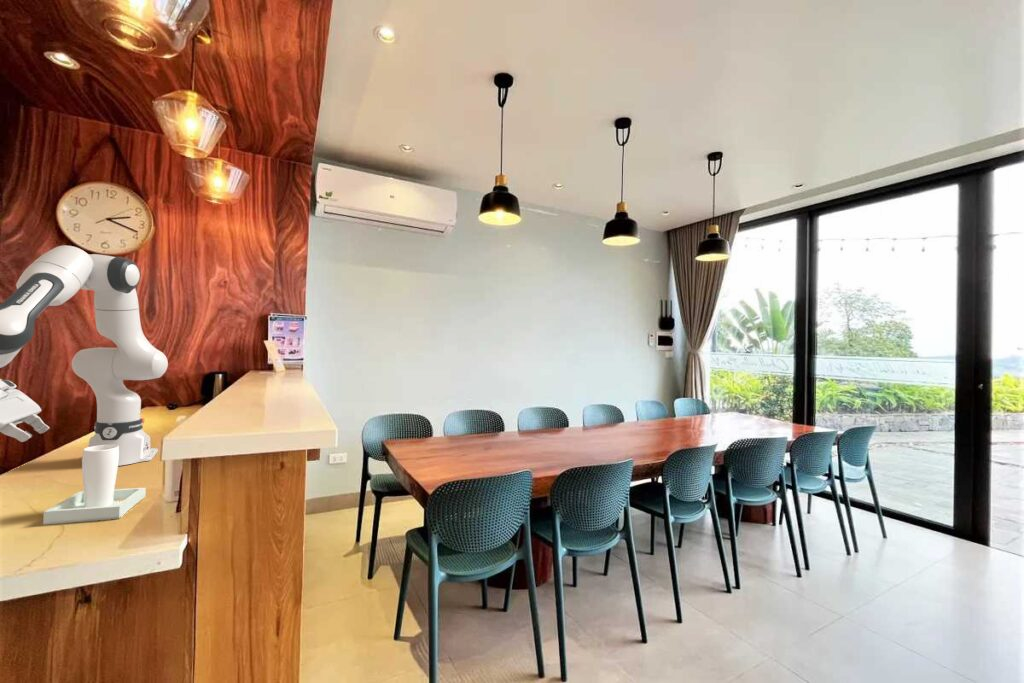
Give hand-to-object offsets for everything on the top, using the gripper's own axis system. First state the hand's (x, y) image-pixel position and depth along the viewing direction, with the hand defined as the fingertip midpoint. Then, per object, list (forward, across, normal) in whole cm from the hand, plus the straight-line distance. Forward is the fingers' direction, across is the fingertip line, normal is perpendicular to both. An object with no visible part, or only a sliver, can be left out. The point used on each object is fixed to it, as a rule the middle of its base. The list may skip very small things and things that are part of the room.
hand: (37, 434), depth 103 cm
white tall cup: (+22, +1, +6) cm, 23 cm away
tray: (+22, 0, +6) cm, 23 cm away
